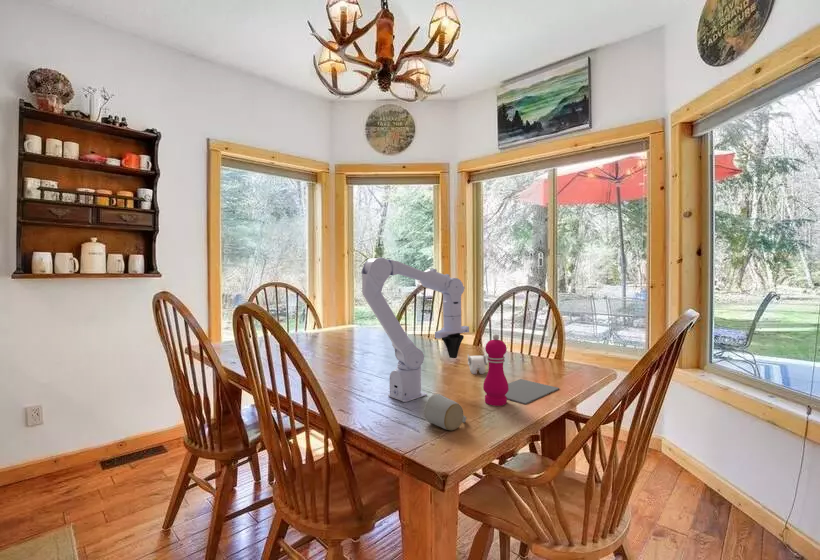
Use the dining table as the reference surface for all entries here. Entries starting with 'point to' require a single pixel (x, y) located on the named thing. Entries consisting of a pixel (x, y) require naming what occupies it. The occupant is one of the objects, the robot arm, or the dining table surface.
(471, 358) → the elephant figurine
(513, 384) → the mat
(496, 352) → the pepper mill
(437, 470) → the dining table surface
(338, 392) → the dining table surface
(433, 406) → the ceramic mug
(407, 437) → the dining table surface
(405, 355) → the robot arm
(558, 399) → the dining table surface
